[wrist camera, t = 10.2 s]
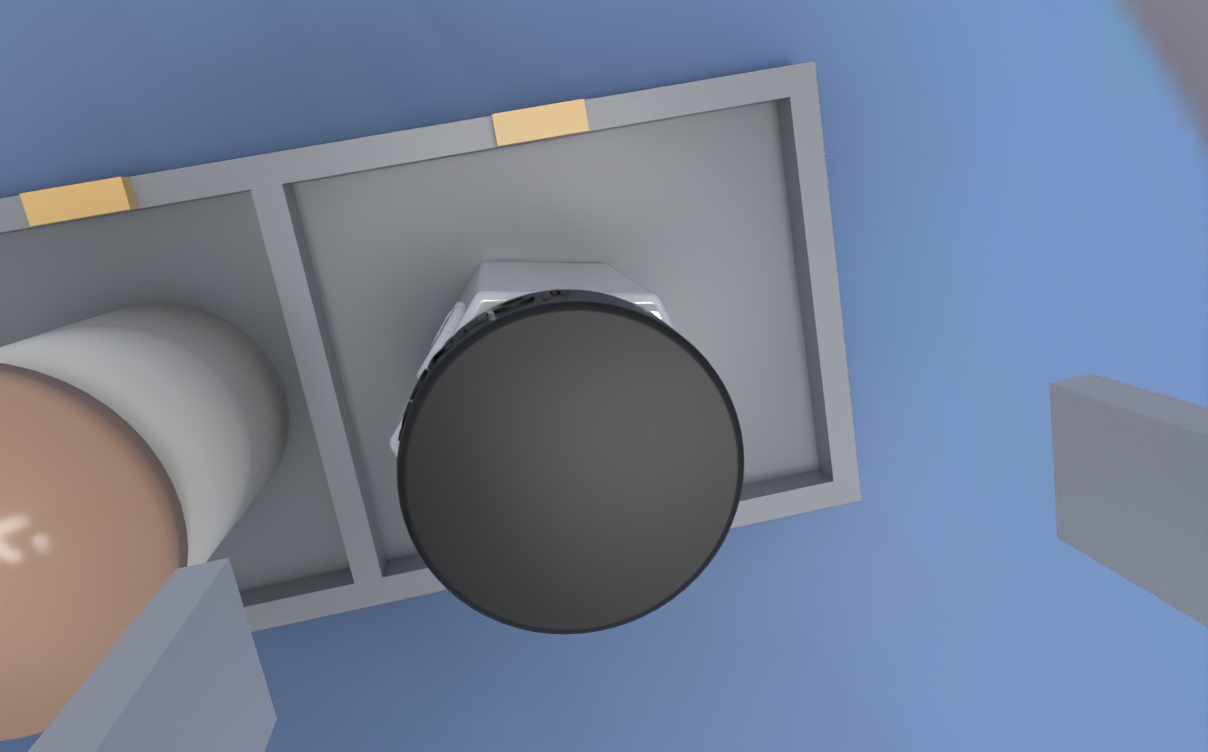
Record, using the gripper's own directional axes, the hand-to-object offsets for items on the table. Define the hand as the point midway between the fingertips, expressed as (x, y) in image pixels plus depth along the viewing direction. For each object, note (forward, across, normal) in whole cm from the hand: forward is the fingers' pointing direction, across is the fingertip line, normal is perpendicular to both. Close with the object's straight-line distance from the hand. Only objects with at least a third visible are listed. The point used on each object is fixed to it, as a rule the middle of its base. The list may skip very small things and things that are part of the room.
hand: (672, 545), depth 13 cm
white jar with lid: (+19, -14, 0) cm, 24 cm away
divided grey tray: (+19, -5, 0) cm, 20 cm away
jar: (+18, -1, -1) cm, 19 cm away
